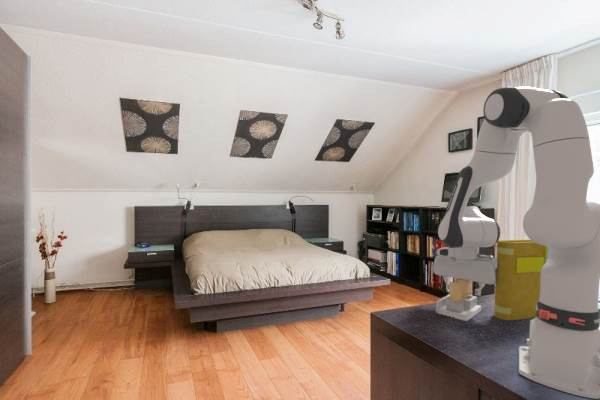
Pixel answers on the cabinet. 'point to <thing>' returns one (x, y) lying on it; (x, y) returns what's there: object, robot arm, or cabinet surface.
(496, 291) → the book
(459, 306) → the housing
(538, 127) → the robot arm
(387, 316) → the cabinet surface
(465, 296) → the tan wooden block
